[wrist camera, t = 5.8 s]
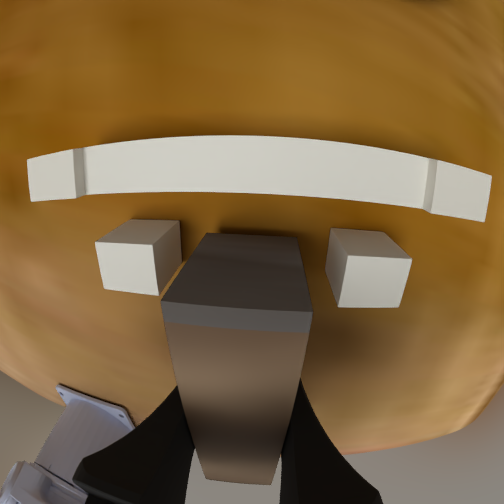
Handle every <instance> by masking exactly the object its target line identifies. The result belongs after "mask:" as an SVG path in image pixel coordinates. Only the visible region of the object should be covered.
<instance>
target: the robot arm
mask: <svg viewBox="0 0 504 504" xmlns="http://www.w3.org/2000/svg"><path fill="white" fill-rule="evenodd" d="M56 389H57V391H58V393H59V394H60V396H61V397H62V399H63V400H64V402H65V403H66V405H67V406H66V408H65V409H64V411H63V413H62V414H61V416H60V418H59V419H58V421H57V423H56V424H55V426H54V428H53V429H52V431H51V433H50V435H49V437H48V438H47V440H46V442H45V443H44V445H43V447H42V449H41V451H40V453H39V455H38V456H37V458H36V460H35V462H34V463H30V464H29V463H27V462H26V461H22V462H21V461H18V462H16V463H15V464H14V466H13V467H12V469H11V471H10V472H9V474H8V476H7V478H6V480H5V482H4V484H3V486H2V489H1V491H0V504H185V498H186V490H187V484H188V478H189V472H190V466H191V461H192V456H193V453H194V449H195V446H194V443H193V439H192V436H191V433H190V430H189V426H188V423H187V419H186V416H185V412H184V409H183V405H182V401H181V397H180V393H179V389H178V385H177V386H176V387H175V388H174V390H173V391H172V392H171V393H170V394H169V396H168V397H167V398H166V399H165V400H164V401H163V402H162V404H161V405H160V406H159V407H158V408H157V409H156V410H155V411H154V412H153V413H152V414H151V415H150V416H149V417H148V418H146V419H145V420H144V421H143V422H142V423H141V424H140V425H138V426H137V427H136V428H135V427H134V425H133V423H132V421H131V420H130V418H129V416H128V414H127V412H126V410H125V409H124V408H122V407H119V406H116V405H113V404H110V403H107V402H104V401H101V400H98V399H95V398H92V397H89V396H86V395H84V394H81V393H78V392H76V391H73V390H71V389H68V388H66V387H64V386H61V385H59V384H58V385H57V386H56ZM281 459H282V471H281V490H280V503H279V504H383V502H382V499H381V496H380V493H379V491H378V490H377V489H376V488H374V487H373V486H372V485H371V484H369V483H368V482H367V481H366V480H365V479H364V478H363V477H362V476H361V475H360V474H359V473H357V472H356V471H355V470H354V469H353V467H352V466H351V465H350V464H349V463H348V462H347V461H346V460H345V458H344V457H343V456H342V455H341V454H340V452H339V451H338V450H337V448H336V447H335V446H334V444H333V443H332V442H331V440H330V439H329V437H328V436H327V434H326V432H325V431H324V429H323V427H322V426H321V424H320V422H319V420H318V419H317V417H316V415H315V413H314V411H313V409H312V407H311V405H310V402H309V400H308V398H307V395H306V393H305V390H304V388H303V385H302V382H301V378H300V380H299V385H298V389H297V393H296V397H295V402H294V406H293V410H292V414H291V418H290V421H289V425H288V429H287V433H286V436H285V440H284V444H283V447H282V451H281Z"/></svg>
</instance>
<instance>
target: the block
mask: <svg viewBox="0 0 504 504" xmlns="http://www.w3.org/2000/svg"><path fill="white" fill-rule="evenodd" d="M161 307H162V313H163V319H164V324H165V330H166V335H167V340H168V345H169V350H170V355H171V359H172V364H173V368H174V373H175V377H176V381H177V385H178V389H179V393H180V397H181V401H182V405H183V409H184V412H185V416H186V419H187V423H188V426H189V430H190V433H191V436H192V439H193V443H194V446H195V449H196V452H197V455H198V458H199V461H200V464H201V466H202V469H203V472H204V475H205V478H206V479H209V480H216V481H224V482H234V483H244V484H259V485H271V483H272V480H273V477H274V474H275V471H276V468H277V464H278V461H279V458H280V454H281V451H282V447H283V444H284V440H285V436H286V433H287V429H288V425H289V421H290V418H291V414H292V410H293V406H294V402H295V397H296V393H297V389H298V385H299V380H300V376H301V371H302V367H303V362H304V357H305V352H306V347H307V342H308V337H309V332H310V326H311V321H312V315H313V309H312V304H311V299H310V295H309V290H308V285H307V281H306V276H305V272H304V267H303V263H302V258H301V254H300V250H299V245H298V241H297V237H281V236H263V235H243V234H222V233H206V235H205V236H204V237H203V239H202V240H201V242H200V243H199V245H198V246H197V247H196V249H195V250H194V252H193V253H192V255H191V256H190V258H189V259H188V261H187V262H186V263H185V265H184V266H183V268H182V269H181V271H180V272H179V274H178V275H177V277H176V278H175V280H174V281H173V283H172V284H171V286H170V287H169V289H168V290H167V292H166V293H165V295H164V296H163V298H162V299H161Z"/></svg>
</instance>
